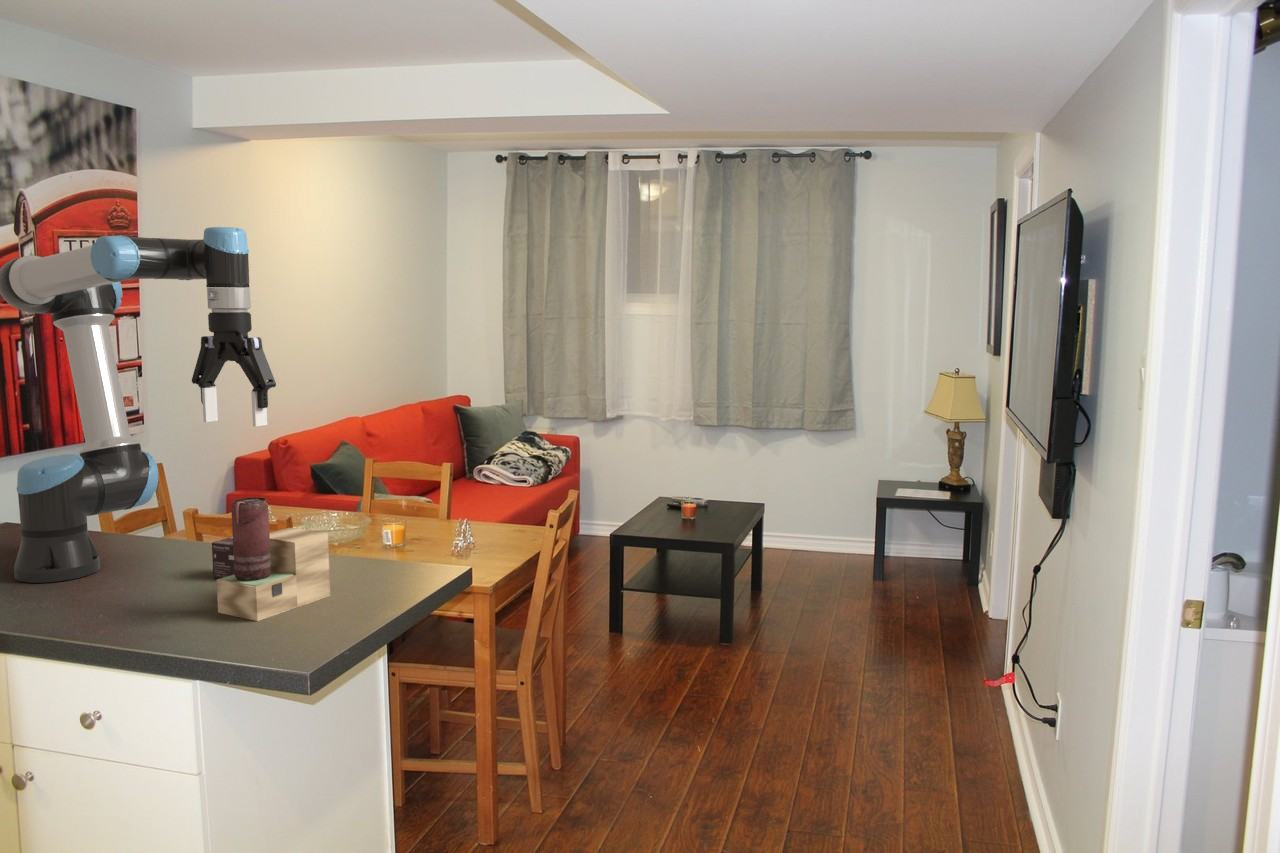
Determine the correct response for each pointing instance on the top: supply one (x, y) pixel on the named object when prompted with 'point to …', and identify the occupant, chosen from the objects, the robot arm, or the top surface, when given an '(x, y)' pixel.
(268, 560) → the can
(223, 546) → the box
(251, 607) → the stand
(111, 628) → the top surface
